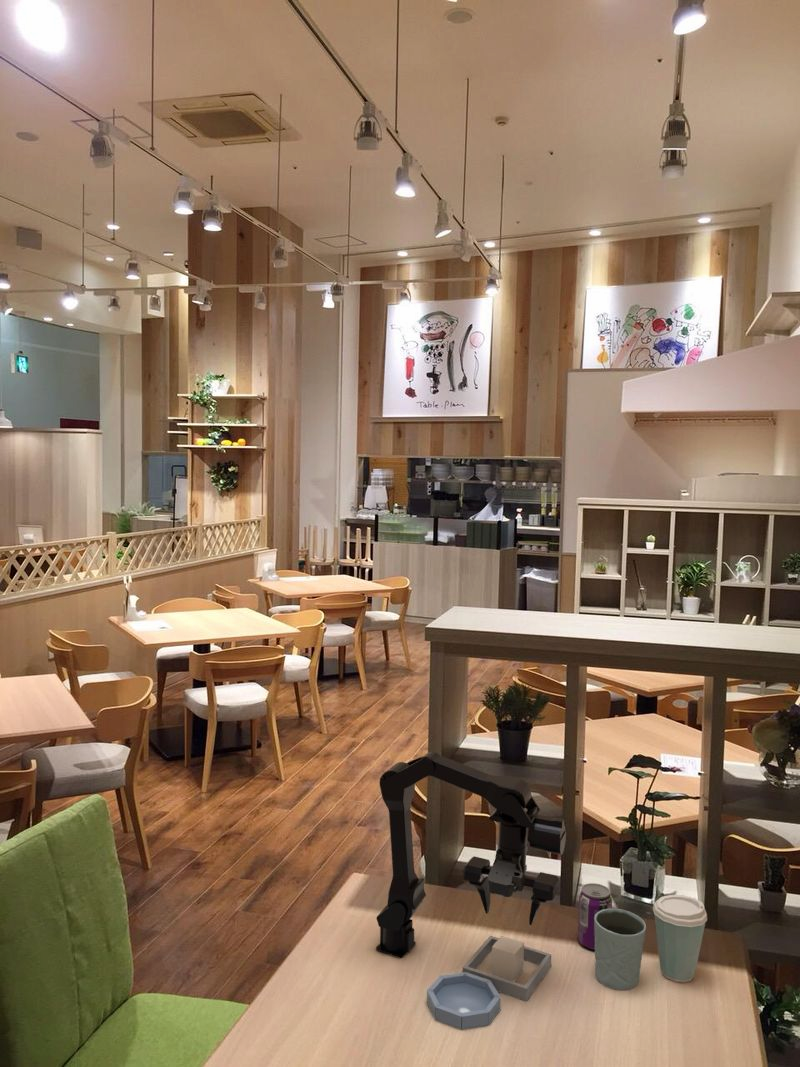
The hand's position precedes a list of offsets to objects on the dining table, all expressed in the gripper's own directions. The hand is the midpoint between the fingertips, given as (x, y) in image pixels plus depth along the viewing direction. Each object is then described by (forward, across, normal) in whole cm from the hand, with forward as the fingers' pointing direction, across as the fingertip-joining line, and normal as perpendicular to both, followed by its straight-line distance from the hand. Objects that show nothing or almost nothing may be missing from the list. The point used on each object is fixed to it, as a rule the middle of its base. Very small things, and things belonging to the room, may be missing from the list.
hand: (508, 918), depth 170 cm
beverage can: (+12, +14, +20) cm, 27 cm away
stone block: (+12, 0, +1) cm, 12 cm away
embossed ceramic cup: (+12, +21, +9) cm, 25 cm away
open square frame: (+12, 0, +1) cm, 12 cm away
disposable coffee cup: (+12, +31, +16) cm, 37 cm away
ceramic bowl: (+12, -4, -13) cm, 18 cm away
